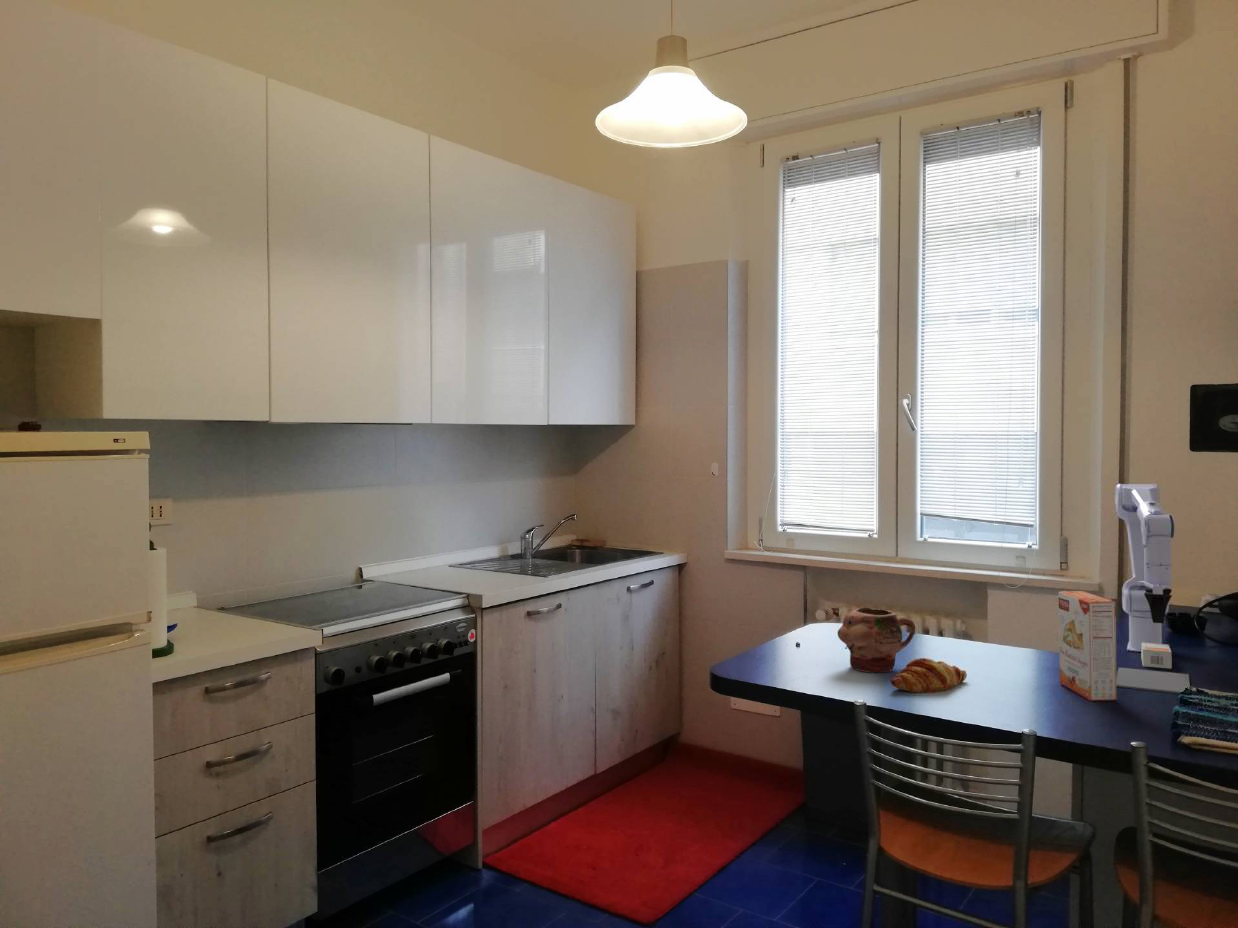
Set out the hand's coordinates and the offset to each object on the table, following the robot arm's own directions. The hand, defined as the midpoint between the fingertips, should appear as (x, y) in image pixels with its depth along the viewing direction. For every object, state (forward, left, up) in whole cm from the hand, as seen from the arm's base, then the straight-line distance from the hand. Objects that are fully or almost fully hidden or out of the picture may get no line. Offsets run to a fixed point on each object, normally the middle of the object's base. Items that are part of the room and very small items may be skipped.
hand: (1158, 620), depth 219 cm
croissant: (+48, -43, -11) cm, 65 cm away
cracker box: (+37, -13, -11) cm, 41 cm away
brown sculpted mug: (+36, -58, -11) cm, 69 cm away
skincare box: (+6, 0, -8) cm, 10 cm away
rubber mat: (+20, -1, -10) cm, 23 cm away
